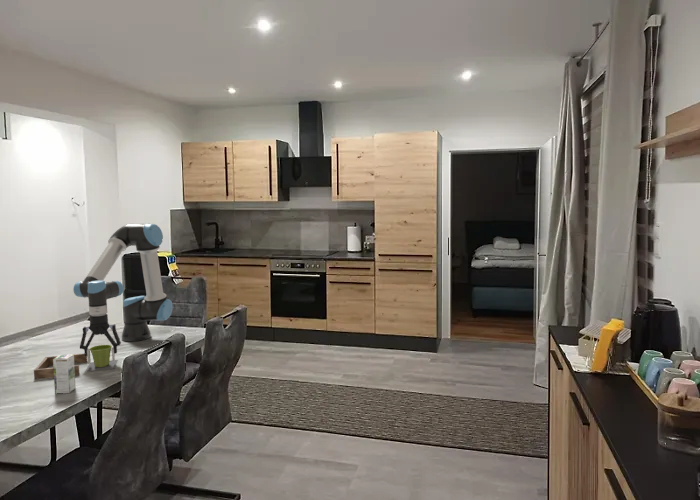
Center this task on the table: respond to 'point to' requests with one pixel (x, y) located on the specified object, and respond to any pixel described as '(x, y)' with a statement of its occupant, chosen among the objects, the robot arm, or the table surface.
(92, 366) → the charcoal mat
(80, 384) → the table surface
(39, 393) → the table surface
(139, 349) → the table surface
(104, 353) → the plant pot
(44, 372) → the walnut bay
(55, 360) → the syrup box
